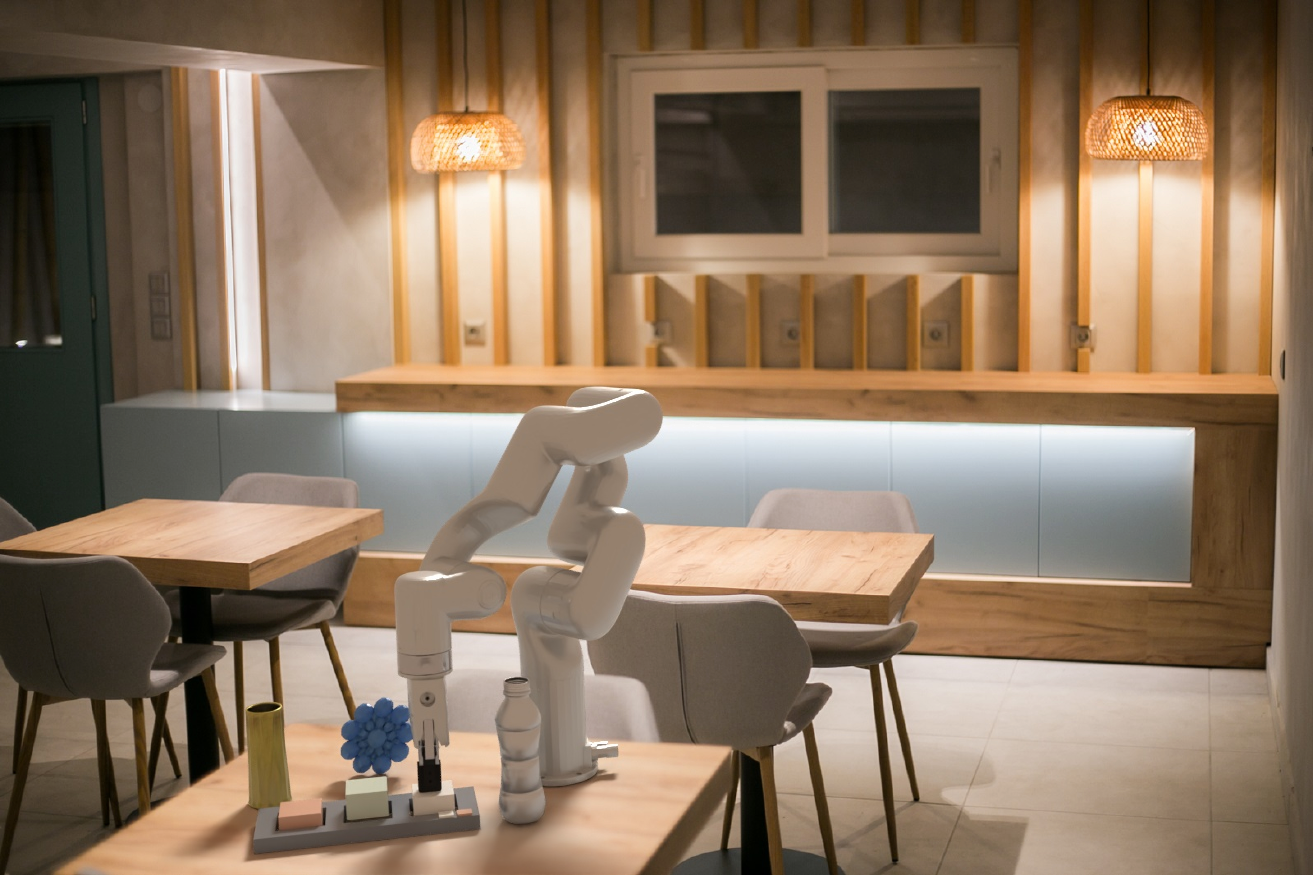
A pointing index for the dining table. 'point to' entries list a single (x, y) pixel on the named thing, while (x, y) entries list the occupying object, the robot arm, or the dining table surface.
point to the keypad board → (366, 824)
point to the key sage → (366, 798)
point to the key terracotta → (300, 814)
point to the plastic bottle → (519, 754)
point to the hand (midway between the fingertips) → (429, 789)
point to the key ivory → (433, 800)
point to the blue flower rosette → (377, 736)
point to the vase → (267, 756)
